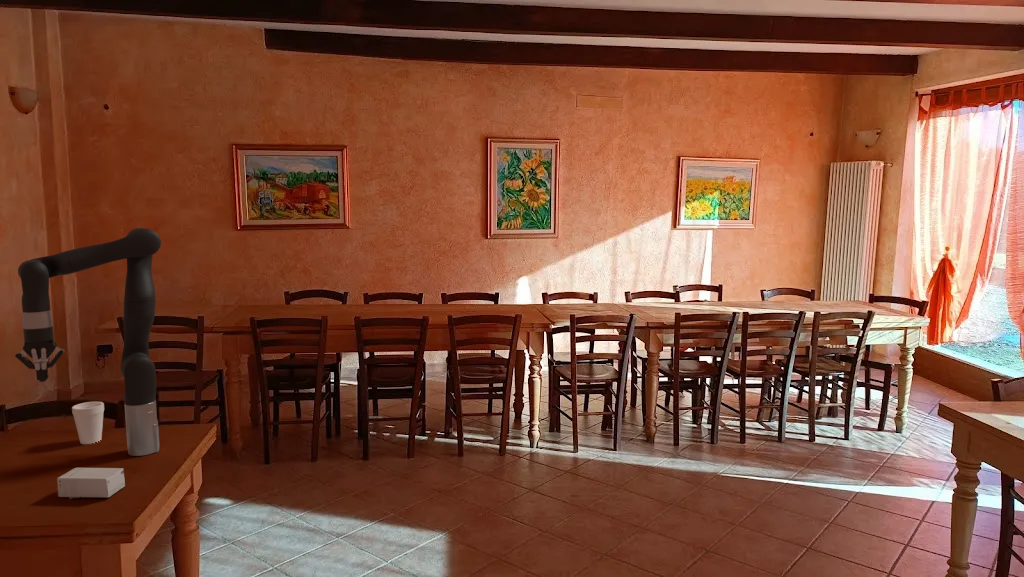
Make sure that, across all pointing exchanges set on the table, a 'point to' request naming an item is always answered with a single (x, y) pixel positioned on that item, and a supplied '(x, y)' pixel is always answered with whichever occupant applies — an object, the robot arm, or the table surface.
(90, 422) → the foam cup
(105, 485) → the skincare box
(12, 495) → the table surface
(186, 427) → the table surface
